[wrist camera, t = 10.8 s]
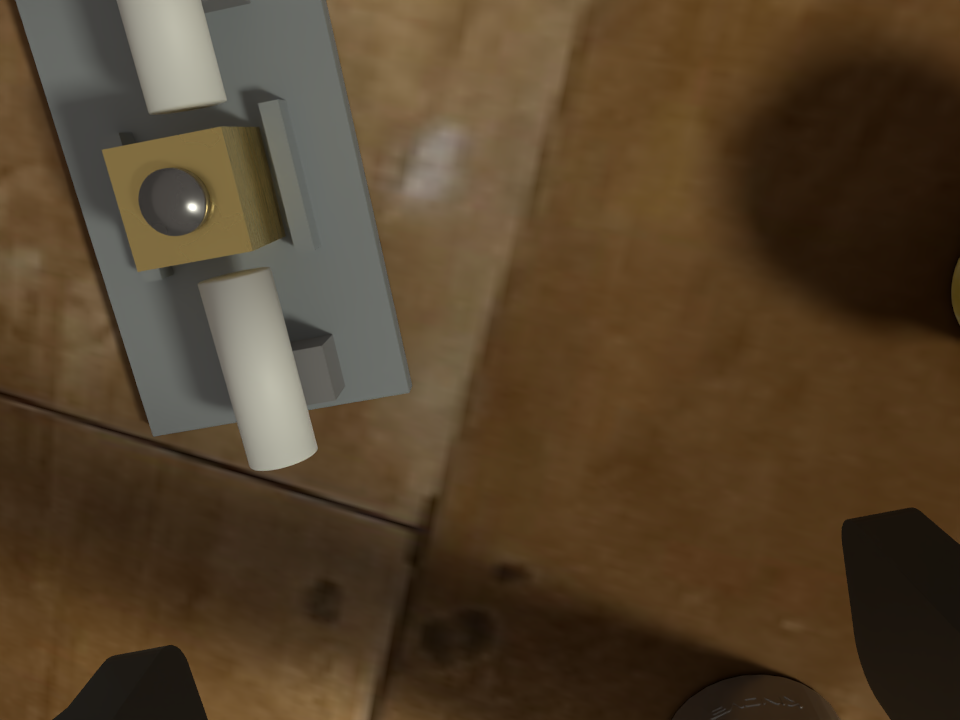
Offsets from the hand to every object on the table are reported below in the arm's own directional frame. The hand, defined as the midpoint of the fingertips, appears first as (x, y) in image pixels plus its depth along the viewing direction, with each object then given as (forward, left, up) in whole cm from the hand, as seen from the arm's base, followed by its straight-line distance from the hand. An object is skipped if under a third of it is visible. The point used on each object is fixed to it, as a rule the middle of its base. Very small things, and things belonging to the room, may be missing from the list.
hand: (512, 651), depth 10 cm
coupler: (+6, +11, -26) cm, 29 cm away
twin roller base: (+6, +12, -27) cm, 30 cm away
